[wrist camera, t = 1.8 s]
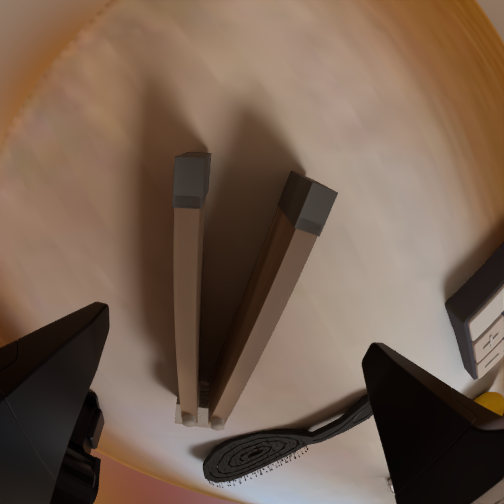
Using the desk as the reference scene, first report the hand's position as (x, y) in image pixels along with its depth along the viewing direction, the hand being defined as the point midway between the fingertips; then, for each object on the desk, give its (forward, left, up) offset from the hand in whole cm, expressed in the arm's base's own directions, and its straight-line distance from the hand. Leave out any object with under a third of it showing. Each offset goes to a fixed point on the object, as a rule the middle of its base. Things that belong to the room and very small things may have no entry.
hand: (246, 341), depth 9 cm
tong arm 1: (+2, -5, -11) cm, 12 cm away
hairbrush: (+12, -23, -12) cm, 28 cm away
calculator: (+31, -3, -12) cm, 33 cm away
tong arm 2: (-2, -5, -11) cm, 12 cm away
